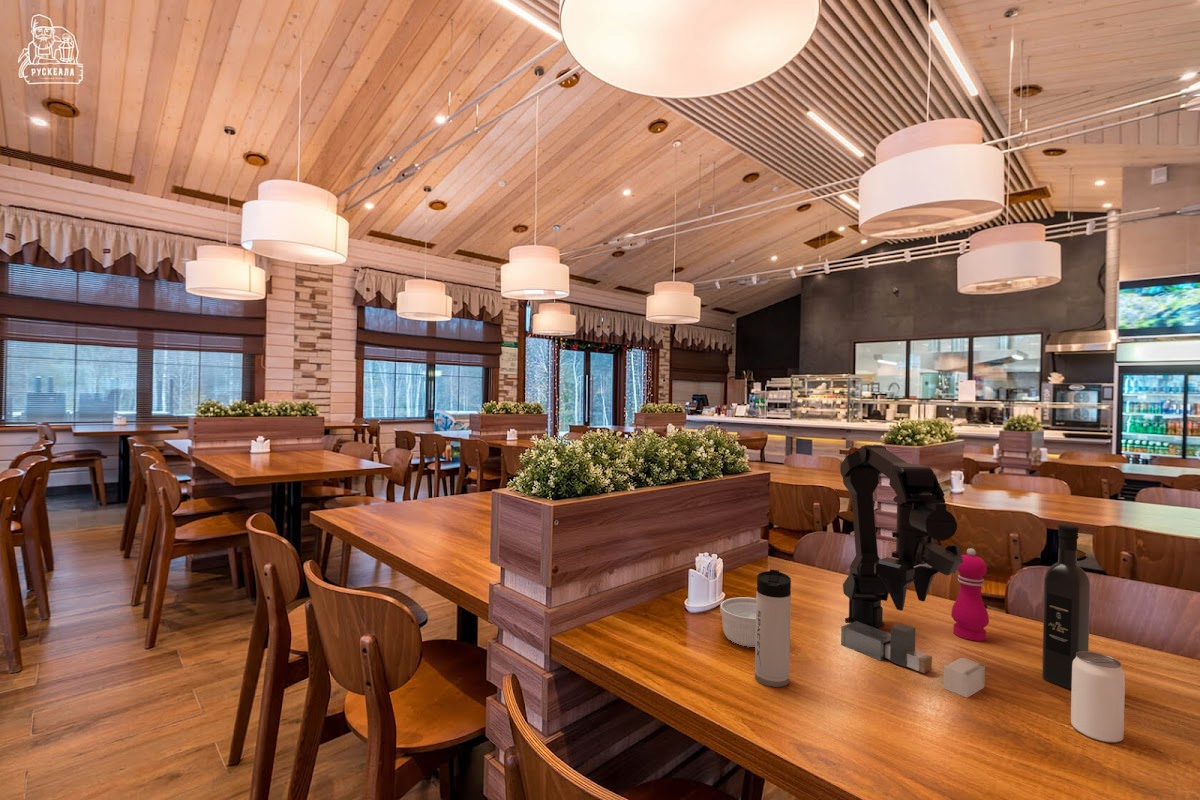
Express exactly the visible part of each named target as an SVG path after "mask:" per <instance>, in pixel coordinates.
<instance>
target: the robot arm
mask: <svg viewBox="0 0 1200 800" xmlns="http://www.w3.org/2000/svg"><path fill="white" fill-rule="evenodd" d="M839 468H840V469H839V471H840V475H841V477H842V483H843V485H844V486H845V488H846V490H847V491H848V493H849V494H850V496H851V506H852V507H851V508H852V521H853V533H854V534H853V535H854V547H855V556H854V558H853V560H852V561H851V562H850V565H849V575H848V576H847V577H846V579H845V581H844V582H843V584H842V591H843V594H844V595H845V596H846V597H847V598H848V599H849V600H848V617H845V618H844V621H845V622H847V623H848V624H849V623H852V622H855V621H857V622H860V623H863V624H866V625H868V626H871V627H874V628H878V627H881V626H884V625H885V621H883V611H884V610H883V606H882V601H883V602H887V601H888V598H889V596H890V597H891V600H892V602H893V604H894V606H895V608H896V610H898V611H900V612H901V611H903V610H904V607H905V603H906V596H907V591H908V590H907V588H908V586H909V585H910V584H911V583H913V585H914V586H913V587H914V589H915V593H916V596H917V599H918V601H920V602H926V598H927V596H928V593H929V590H930V587H931V585H932V582H933V579H934V577H935V576H936V575H937V574H939V573H940V574H942V575H944V576H951V574H956V572H958V570H957V568H958V566H959V564H962V563H963V560H962V558H963V556H961V555H962V551H961V548H962V547H959V546H958V545H956V544H954V543H952V544H950V545H947V546H946V547H945V546H944V545H939V544H937V543H935V541H943V542H944V541H946V540H950V539H951V538H952V537H954V535H955V533H956V532H957V528H958V522H957V521H956V517H955V516H954V515H953V514H952V513H951V512H950V511H948V510H947V504H946V499H945V493H944V491H943V489H942V487H941V485H940V483H939V481H938V477H937V475H936V473H935V472H934V470H933V469H932V468H931V467H930V466H926V465H923V464H919V463H917V464H916V463H911V462H907V461H905V460H904V459H902V458H901V457H899V456H897V455H896V454H894V453H893V452H891V451H890V450H888V449H887V447H886V446H883V445H881V444H879V445H878V444H864V445H861V446H860V448H859V449H858V450H856V451H854V452H852V453H850V454H848V455H846V457H845V458H844V459H843V460H842V462H841V463H840V467H839ZM881 475H884V476H886V477H887V478H888V479H889V482H888V483H889V484H888V485H889V486H890V487H891V488H892V490H893V491H894V493H895V494H896V496H894V497H893V502H895V503H896V530H895V531H892V532H891V537H892V538H895V541H896V542H895V551H891V557H884V558H880V557H879V552H878V541H877V529H876V527H877V526H876V517H875V515H876V514H875V508H874V507H875V506H874V505H875V503H874V492H875V491H876V489H877V487H878V486H879V484H880V476H881Z"/></svg>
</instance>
